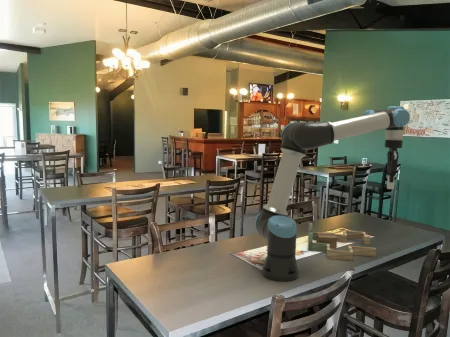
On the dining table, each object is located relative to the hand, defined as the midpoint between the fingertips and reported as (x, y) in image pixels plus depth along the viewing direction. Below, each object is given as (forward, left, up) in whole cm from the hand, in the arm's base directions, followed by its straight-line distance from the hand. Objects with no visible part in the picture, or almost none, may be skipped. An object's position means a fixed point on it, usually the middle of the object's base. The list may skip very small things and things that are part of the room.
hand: (390, 188), depth 171 cm
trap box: (+4, +21, -32) cm, 39 cm away
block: (+5, +28, -33) cm, 43 cm away
